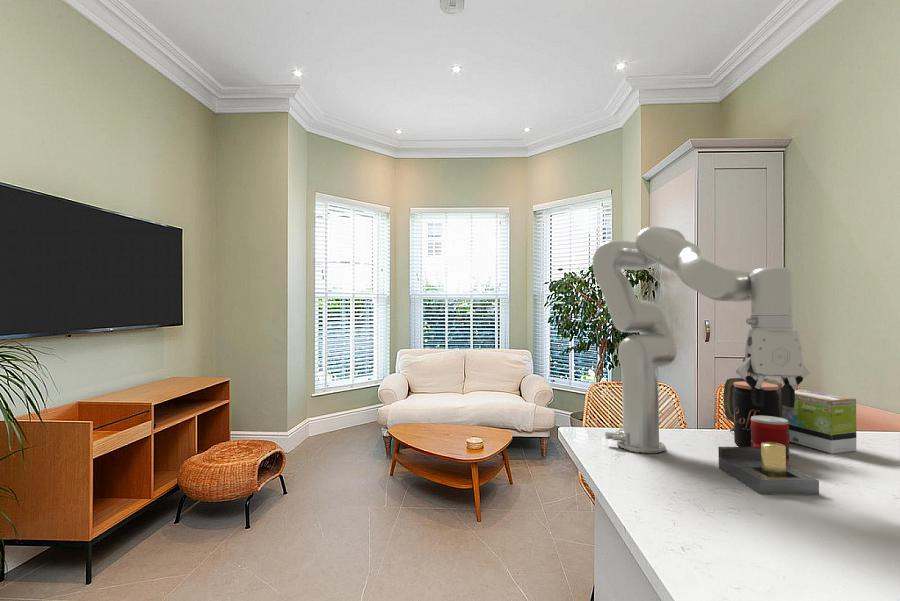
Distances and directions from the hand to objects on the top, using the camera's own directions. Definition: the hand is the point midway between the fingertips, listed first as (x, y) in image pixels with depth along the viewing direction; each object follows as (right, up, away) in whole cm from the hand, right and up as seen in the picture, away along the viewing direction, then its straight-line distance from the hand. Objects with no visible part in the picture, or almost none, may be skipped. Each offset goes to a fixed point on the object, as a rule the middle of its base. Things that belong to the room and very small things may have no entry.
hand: (773, 405), depth 103 cm
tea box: (+34, -19, +31) cm, 50 cm away
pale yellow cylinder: (0, -18, -1) cm, 18 cm away
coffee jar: (+15, -19, +28) cm, 37 cm away
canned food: (+11, -18, +16) cm, 27 cm away
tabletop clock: (+23, -19, +42) cm, 52 cm away
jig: (0, -18, +3) cm, 18 cm away
